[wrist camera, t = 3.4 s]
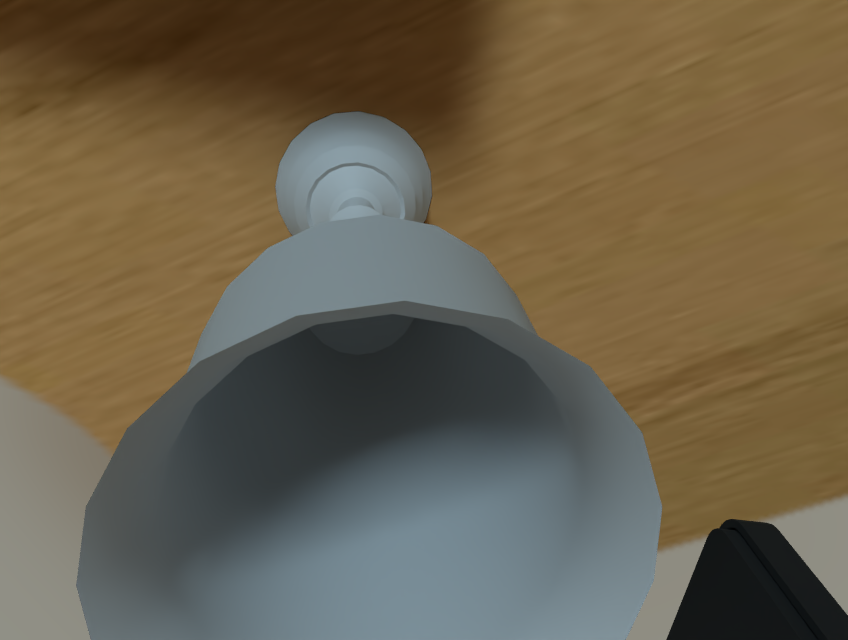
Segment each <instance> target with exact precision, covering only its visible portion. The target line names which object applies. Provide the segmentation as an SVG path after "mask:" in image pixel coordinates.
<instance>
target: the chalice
mask: <svg viewBox="0 0 848 640" xmlns="http://www.w3.org/2000/svg"><path fill="white" fill-rule="evenodd" d="M275 187H276V194H277V201H278V208H279V212H280V214H281V216H282V218H283V220H284V222H285V224H286V226H287V228H288V230H289V232H290V233H291V234H292V235H293V236H292V237H290V238H288V239H286V240H284V241H281V242H279V243H277V244H275V245H273V246H271V247H269V248H267V249H266V250H265V251H264V252H263V253H262V254H261V255H260V256H259V257H258V258H257V259H256V260H255V261H254V262H253V263H252V264H251V265H250V266H248V267H247V268H246V269H245V270H244V271H243V272H242V273H241V274H240V275H239V276H238V277H237V278H236V279H235V280H234V281H233V282H232V283H231V284H229V285H228V286H227V288H226V290H225V292H224V293H223V295H222V297H221V299H220V301H219V303H218V305H217V306H216V308H215V310H214V312H213V314H212V316H211V317H210V319H209V321H208V323H207V325H206V327H205V329H204V330H203V332H202V334H201V337H200V340H199V342H198V345H197V348H196V350H195V353H194V355H193V358H192V361H191V363H190V366H189V369H188V371H187V373H186V374H185V375H184V376H183V377H182V378H181V379H180V380H179V381H178V382H177V383H176V384H175V385H174V386H172V387H171V388H170V389H169V390H168V391H167V392H166V393H165V394H164V395H163V396H162V397H161V398H160V399H159V400H157V401H156V402H155V403H154V404H153V405H152V406H151V407H150V408H149V409H148V410H147V411H146V412H145V413H144V414H142V415H141V416H140V417H139V418H138V419H137V420H136V421H135V422H134V423H133V424H132V425H131V426H130V427H129V428H127V430H126V432H125V434H124V436H123V438H122V439H121V441H120V443H119V445H118V447H117V449H116V451H115V453H114V455H113V456H112V458H111V460H110V462H109V464H108V466H107V468H106V470H105V472H104V474H103V476H102V477H101V479H100V481H99V483H98V485H97V487H96V489H95V491H94V492H93V495H92V496H91V498H90V500H89V502H88V504H87V506H86V510H85V519H84V527H83V536H82V543H81V552H80V560H79V568H78V576H77V584H76V586H77V590H78V593H79V597H80V601H81V605H82V608H83V612H84V616H85V620H86V623H87V627H88V631H89V635H90V638H91V640H626V638H627V636H628V634H629V632H630V629H631V628H632V625H633V623H634V621H635V619H636V617H637V615H638V612H639V611H640V608H641V606H642V604H643V602H644V600H645V597H646V596H647V594H648V591H649V589H650V587H651V585H652V583H653V580H654V574H655V565H656V556H657V547H658V539H659V530H660V521H661V512H662V505H661V501H660V497H659V494H658V490H657V486H656V483H655V479H654V475H653V471H652V468H651V464H650V460H649V456H648V453H647V449H646V445H645V442H644V438H643V434H642V432H641V431H640V429H639V428H638V427H637V426H636V424H635V423H634V422H633V420H632V419H631V418H630V417H629V415H628V414H627V413H626V412H625V410H624V409H623V408H622V406H621V405H620V404H619V403H618V401H617V400H616V399H615V397H614V396H613V395H612V394H611V392H610V391H609V390H608V388H607V387H606V386H605V385H604V383H603V382H602V381H601V380H600V378H599V377H598V376H597V374H596V373H595V372H594V371H593V369H592V368H591V367H590V366H589V365H587V364H585V363H583V362H582V361H580V360H578V359H577V358H575V357H573V356H571V355H570V354H568V353H566V352H564V351H563V350H561V349H559V348H557V347H556V346H554V345H552V344H551V343H549V342H547V341H545V340H544V339H542V338H540V337H538V335H537V333H536V331H535V329H534V327H533V326H532V324H531V322H530V320H529V318H528V316H527V314H526V312H525V310H524V309H523V307H522V305H521V303H520V301H519V299H518V297H517V295H516V294H515V293H514V291H513V290H512V289H511V288H510V286H509V285H508V284H507V283H506V281H505V280H504V279H503V278H502V276H501V275H500V274H499V273H498V271H497V270H496V269H495V268H494V266H493V265H492V264H491V263H490V261H489V260H488V259H487V257H486V256H485V255H484V254H483V253H481V252H479V251H478V250H476V249H474V248H473V247H471V246H469V245H468V244H466V243H464V242H463V241H461V240H459V239H458V238H456V237H454V236H453V235H451V234H449V233H448V232H446V231H444V230H443V229H441V228H439V227H438V226H434V225H429V224H424V221H425V220H426V217H427V213H428V209H429V206H430V202H431V198H432V188H431V172H430V169H429V167H428V164H427V162H426V159H425V157H424V154H423V152H422V150H421V148H420V147H419V146H418V145H417V143H416V142H415V141H414V140H413V139H412V138H411V136H410V135H409V134H408V133H407V132H406V130H404V129H402V128H401V127H399V126H398V125H396V124H394V123H393V122H391V121H389V120H388V119H386V118H385V117H381V116H377V115H373V114H368V113H364V112H360V111H357V112H346V113H335V114H332V115H329V116H327V117H325V118H323V119H320V120H318V121H316V122H313V123H311V124H310V125H309V126H307V127H306V128H305V129H304V130H303V131H302V132H301V133H300V134H299V135H298V136H297V137H295V138H294V139H293V140H292V141H291V143H290V145H289V147H288V149H287V150H286V152H285V154H284V156H283V158H282V159H281V161H280V164H279V170H278V175H277V181H276V186H275Z"/></svg>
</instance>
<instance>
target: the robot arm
mask: <svg viewBox="0 0 848 640" xmlns="http://www.w3.org/2000/svg"><path fill="white" fill-rule="evenodd" d="M667 640H848V615H847V614H846V613H845V612H844V610H843V609H842V608H841V607H840V605H839V604H838V603H837V602H836V600H835V599H834V598H833V597H832V596H831V594H830V593H829V592H828V591H827V590H826V588H825V587H824V586H823V584H822V583H821V582H820V581H819V580H818V578H817V577H816V576H815V575H814V573H813V572H812V571H811V570H810V568H809V567H808V566H807V565H806V563H805V562H804V561H803V560H802V558H801V557H800V556H799V555H798V554H797V552H796V551H795V550H794V549H793V547H792V546H791V545H790V544H789V542H788V541H787V540H786V539H785V537H784V536H783V535H782V534H781V533H780V531H779V530H778V529H777V528H776V527H775V526H774V525H772V524H769V523H764V522H754V521H745V520H736V519H730V520H726V521H725V522H724V523H723V524H722V525H721V526H720V528H717V529H714V530H712V531H711V532H710V534H709V535H708V537H707V540H706V542H705V545H704V547H703V550H702V552H701V555H700V557H699V560H698V562H697V565H696V567H695V570H694V572H693V575H692V577H691V580H690V582H689V585H688V587H687V590H686V592H685V595H684V597H683V600H682V602H681V605H680V607H679V610H678V612H677V615H676V617H675V620H674V622H673V625H672V627H671V630H670V632H669V635H668V637H667Z"/></svg>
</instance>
